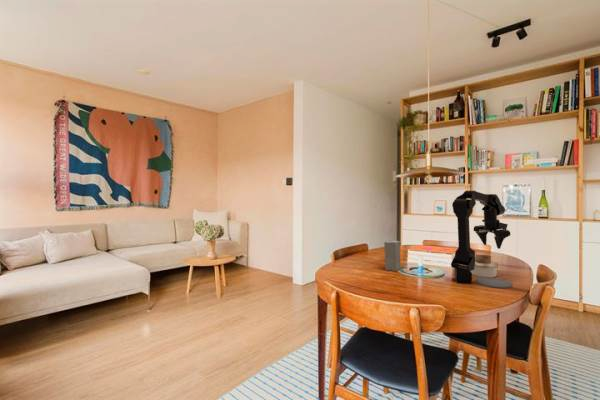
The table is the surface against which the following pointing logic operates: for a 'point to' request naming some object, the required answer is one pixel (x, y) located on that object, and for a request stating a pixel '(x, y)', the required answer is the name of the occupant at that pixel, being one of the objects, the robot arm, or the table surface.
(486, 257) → the lid
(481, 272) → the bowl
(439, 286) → the table surface
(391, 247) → the skincare box
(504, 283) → the mat
